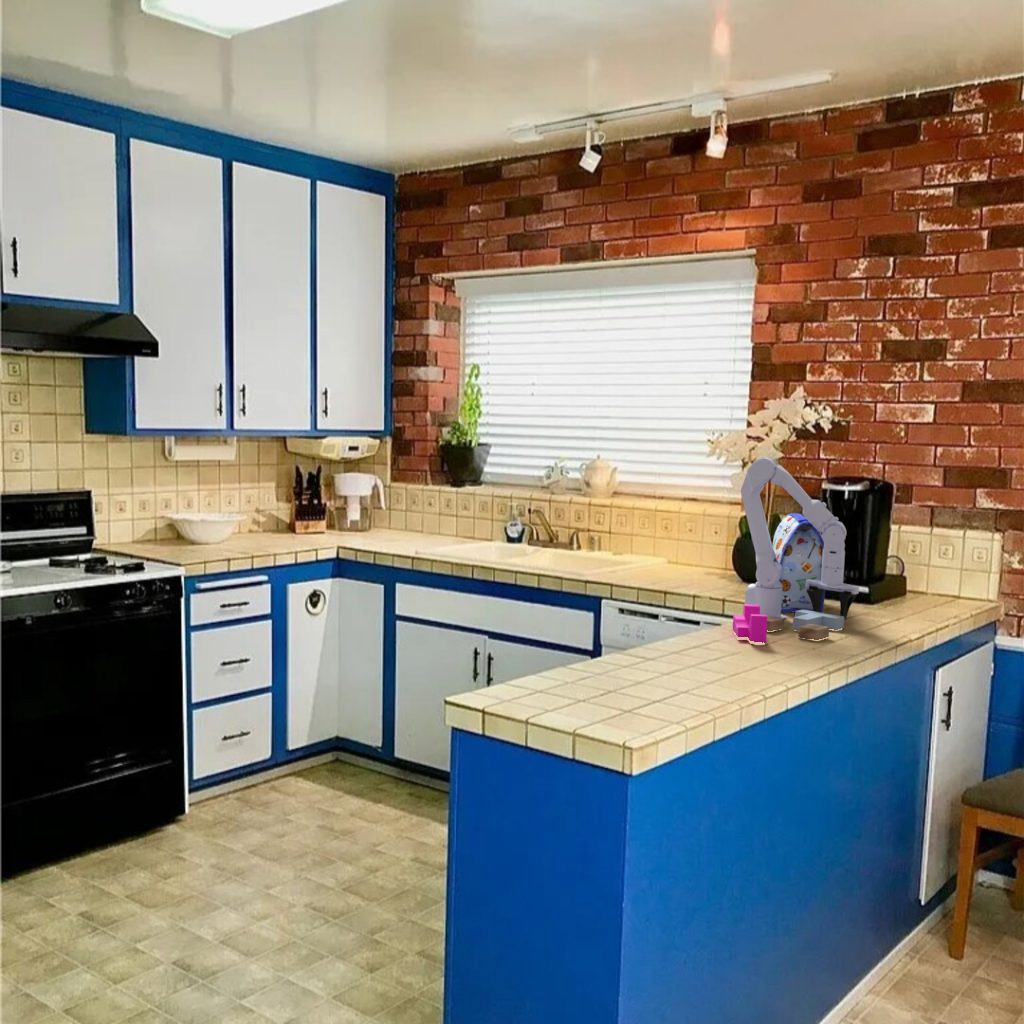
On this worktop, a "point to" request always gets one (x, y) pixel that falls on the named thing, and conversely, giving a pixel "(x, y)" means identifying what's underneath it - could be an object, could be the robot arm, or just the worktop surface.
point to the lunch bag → (798, 560)
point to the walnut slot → (800, 629)
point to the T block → (817, 619)
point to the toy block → (751, 624)
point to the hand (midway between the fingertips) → (829, 616)
